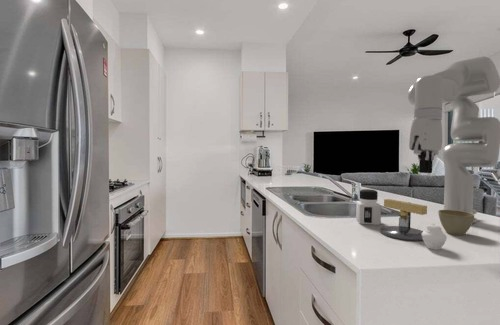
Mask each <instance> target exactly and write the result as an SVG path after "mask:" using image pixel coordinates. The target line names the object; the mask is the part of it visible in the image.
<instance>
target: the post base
mask: <svg viewBox="0 0 500 325" xmlns="http://www.w3.org/2000/svg"><path fill="white" fill-rule="evenodd" d="M408 203H411V202H409V201H408ZM411 215H412V214H411V212H408V216H409V218H401V217H400V216H399V218H398V225H387V226H382V227H381V228H380V233H381V234H382V235H383V236H386V237H388V238H391V239H395V240H401V241H406V242H408V241H410V242H422V241H423V239H422V238H423V237H422V232H423V231H424V230H421V229H419V228H414V227H411V218H412V216H411ZM423 242H424V241H423Z"/></svg>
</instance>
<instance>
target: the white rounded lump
mask: <svg viewBox="0 0 500 325" xmlns="http://www.w3.org/2000/svg"><path fill="white" fill-rule="evenodd" d="M422 231H423V232H422V237H423V238H422V239H423V243H424V244H425V246H426V248H427V249H429V250H432V251H433V250H434V251H440V250H441V249H442V247H443V246H444V245H445V243H446V241H447V235H446V234H445V233H444V232H443V231H442V228H441V227H440V226H439V225H437V224H429V225H427V226H426V229H424V230H422Z"/></svg>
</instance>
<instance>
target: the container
mask: <svg viewBox="0 0 500 325" xmlns="http://www.w3.org/2000/svg"><path fill="white" fill-rule="evenodd" d="M355 203H356V210H355V211H356V212H355V213H356V214H355V219H356V221H357V222H358V223H359V224H360V225H373V226H374V225H375V226H381V224H382V221H381V220H382V216H381V215H382V205H381V204H380V203H378V191H377V190H376V189H370V188H364V189H360V190H359V200H357V201H355Z"/></svg>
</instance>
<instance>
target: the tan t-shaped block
mask: <svg viewBox="0 0 500 325" xmlns="http://www.w3.org/2000/svg"><path fill="white" fill-rule="evenodd" d="M408 202H409V201H408ZM408 202H407V201H401V200H396V199H390V198H384V199H383V207H384V208H387V209H394V210H398V211H399V212H400V213H398V217H399V218H400V217H401V218H409V216H408V212H411V213H412V214H416V215H421V216H424V215H428V205H423V204H417V203H414V202H413V203H412V202H410V203H408Z"/></svg>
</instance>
